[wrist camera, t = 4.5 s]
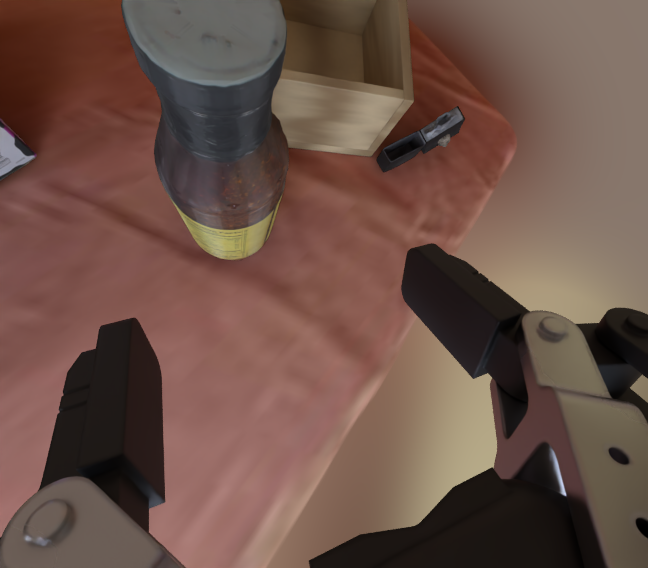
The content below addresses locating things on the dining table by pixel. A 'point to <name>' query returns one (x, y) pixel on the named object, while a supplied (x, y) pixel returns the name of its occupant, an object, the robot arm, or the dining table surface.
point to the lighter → (422, 140)
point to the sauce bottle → (216, 113)
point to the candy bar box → (12, 151)
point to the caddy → (343, 74)
